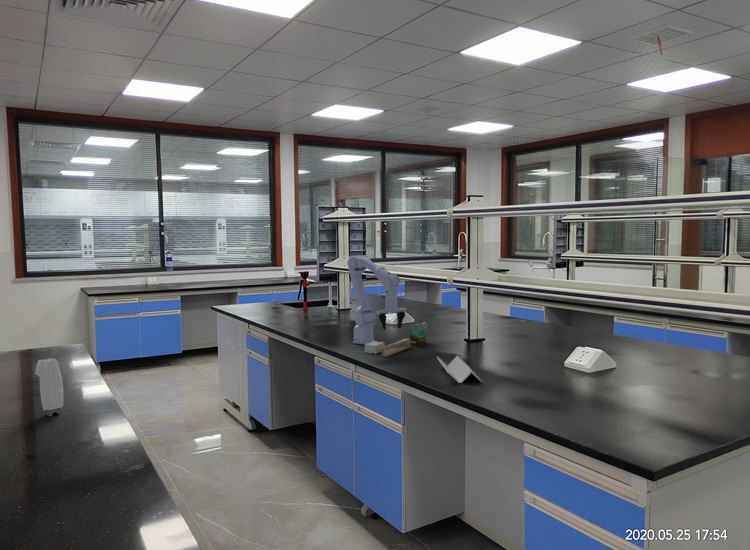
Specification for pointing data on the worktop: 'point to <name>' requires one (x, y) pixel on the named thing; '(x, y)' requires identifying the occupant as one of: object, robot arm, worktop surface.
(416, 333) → the food container
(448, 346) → the worktop surface
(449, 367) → the z bracket
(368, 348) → the sage block
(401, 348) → the birch board
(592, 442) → the worktop surface
